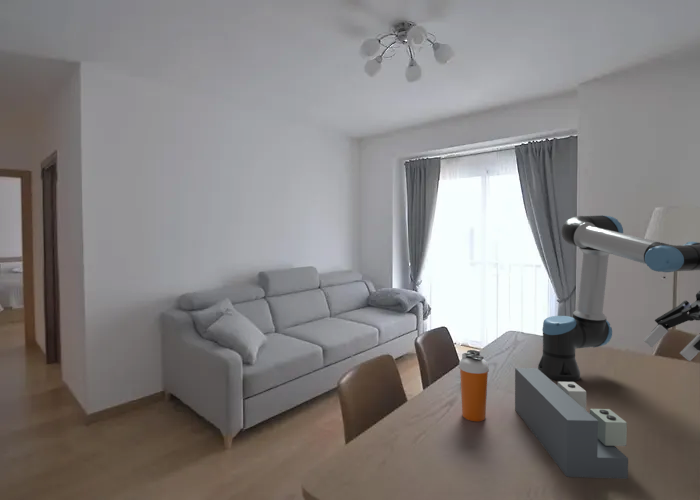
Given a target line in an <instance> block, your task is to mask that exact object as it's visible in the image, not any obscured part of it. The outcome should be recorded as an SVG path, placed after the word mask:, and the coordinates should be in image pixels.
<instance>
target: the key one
mask: <svg viewBox="0 0 700 500" xmlns="http://www.w3.org/2000/svg"><path fill="white" fill-rule="evenodd" d="M556 385H557V386H558V387H559V388H561V389H562V390H563V391H564V392H565V393H566V394H568V395H569V396H570V397H571V398H572V399H573V400H575V401H576V402H577V403H578V404H579V405H580V406H581V407H583V408H584V409H585V410H586V411H587V391H586V390H585V389H584V388H583V387H581V386H580V385H579V384H577V383H576V381H573V382H564V381H557V384H556Z"/></svg>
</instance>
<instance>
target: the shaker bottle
mask: <svg viewBox="0 0 700 500" xmlns="http://www.w3.org/2000/svg"><path fill="white" fill-rule="evenodd" d="M458 365H459V367H458V368H459V375H460V390H461V391H460V392H461V393H460V394H461V395H460V396H461V412H462V413H461V414H462V417H463V418H464V419H465V420H468V421H471V422H483V421H485V420H486V413H487V409H486V408H487V393H488V378H489V377H488V375H489V373H488V372H489V371H490V370H489V363H488V361H486V360H485V358H484V356H482V355H481V354H480V355H476V354H475V352H468V353H467V352H463V353H462V354H461V359H460V360H459V363H458Z"/></svg>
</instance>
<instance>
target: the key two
mask: <svg viewBox="0 0 700 500" xmlns="http://www.w3.org/2000/svg"><path fill="white" fill-rule="evenodd" d="M589 413H590V414H591V415H592V416H593V417H594V418H595V419H597V420H598V439H599V440H600V441H601V442H602V443H603V444H604V445H605V446H615V447H627V436H628V435H627V430H628V429H627V427H628V422H627V421H626V420H624V419H623V418H622V417H620V416H619V415H618V414H617V413H616V412H614V411H613V410H611V409H610V408H589Z"/></svg>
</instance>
